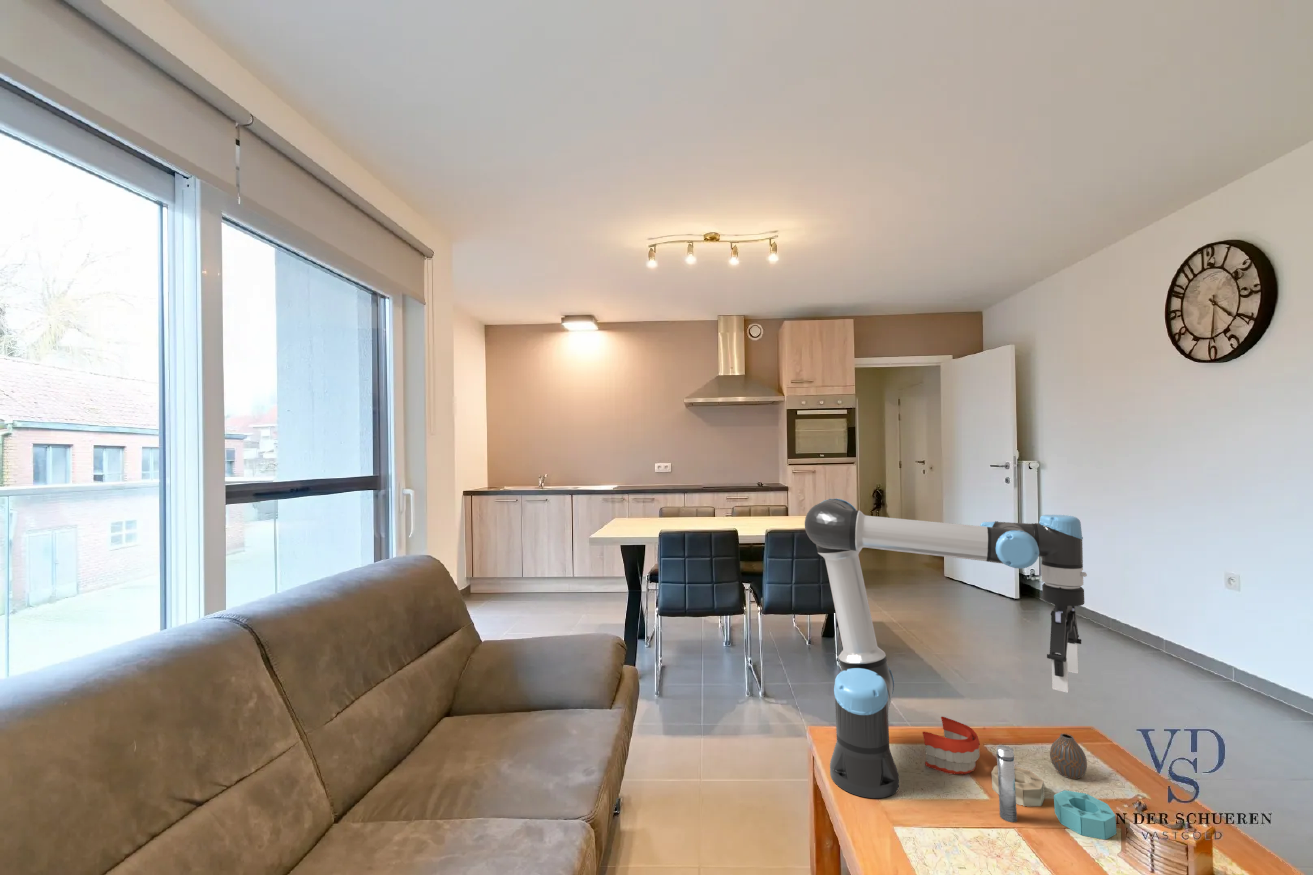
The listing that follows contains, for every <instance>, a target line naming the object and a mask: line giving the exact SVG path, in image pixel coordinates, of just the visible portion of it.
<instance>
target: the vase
mask: <svg viewBox="0 0 1313 875" xmlns="http://www.w3.org/2000/svg"><path fill="white" fill-rule="evenodd" d="M1049 756H1050V757H1049V758H1050V761H1051V763H1052V766H1053V767H1054V769H1055V771H1057V772H1058V773H1059V774H1060V775H1062V776H1063V777H1065V778H1069V779H1074V780H1075V779H1076V780H1077V779H1080V778H1082V777H1083V776H1084V775H1085V774H1086V772H1087V769H1088V761H1087V760H1088V759H1087V756H1086V754H1085V751H1084V750H1083V748H1082V747H1081V746H1080V745H1079V744H1078V742H1077V741H1076V740H1075V737H1074V735H1071V734H1070V733H1069V734H1068V733H1060V735H1059V737H1058V738H1057V739H1055V740H1054V742H1052V744H1051V746H1050V751H1049Z"/></svg>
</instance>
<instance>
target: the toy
mask: <svg viewBox="0 0 1313 875" xmlns="http://www.w3.org/2000/svg"><path fill="white" fill-rule="evenodd" d="M940 719H941V724H942V729H943V736H941V735H938V734H934V733H932V732H928V731H922V736H923V742H924V745H925V749H924V750H925V751H924V752H925V757H926V758H925V759H926V760H925V763H924V764H925V767H928V768H930V769H933V770H935V771H939V772H942V773H945V774H949V775H967V774H970V773H971V772H973V771H975V769H977V768H976V767H977V763H976V762H977V760H978V759H979V758H980V745H981V744H980V740H979V737H978V734H977V733H976V732H975V731H974V729H973V728H972V727H971V726H968V725H967V724H964V723H961V722H959V721H957V720H954V719H952V718H948V717H947V716H946V717H945V716H941V717H940Z"/></svg>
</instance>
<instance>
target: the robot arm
mask: <svg viewBox="0 0 1313 875" xmlns="http://www.w3.org/2000/svg"><path fill="white" fill-rule="evenodd" d="M804 518H805V519H804V530H805V533H806V534H807V537H808V538H809V540H810V541H812V543H813V544H815V546H816V550H817V554H818V555H819V556H821V557H823V559H824V561H825V566H826V571H827V575H828V576H827V577H828V580H829V586H830V590H831V595H832V601H833V605H834V610H835V611H834V612H835V615H836V620H837V625H838V629H839V635H840V640H841V644H842V650H841V652H840V653H839V655H838V660H839V666H840V669H841V670H840V672H839V673H838V674H837V675H836V677H835V679H834V687H833V693H834V700H835V701H834V702H835V703H834V706H835V725H836V726H835V730H836V732H835V734H836V743H835V745H834V749H833V752H832V755H831V759H830V763H829V771H830V772H829V773H830V777H831V778H830V779H832V781H833V783H835V785H836V786H838V787H839V788H840V789H842V790H844V791H845V792H847V793H850V794H852V795H854V796H858V797H860V798H861V797H862V798H868V799H869V798H870V799H883V798H888V797H891V796H892V795H895V794H896V793H897V792H898V791H899V788H900V776H899V775H900V774H899V771H898V768H897V765H896V763H895V760H894V757H893V754H892V752H891V749H890V731H889V730H890V728H889V727H890V726H889V712H890V707H891V702H892V696H893V693H894V688H895V678H894V676H893V672H892V670H891V668H890V666H889V665H888V660H887V655H886V652H885V651H884V650H883V649H881V648H880V647H879V646H878V642H877V637H876V632H875V628H874V623H873V617H872V614H871V608H870V604H869V600H868V594H867V589H866V585H865V580H864V576H863V570H862V566H861V562H860V557H859V556H860V555H859V554H860V552H861V551H862V549H863V548H866V549H867V548H868V549H874V550H875V549H876V550H882V551H883V550H884V551H893V552H902V553H910V554H911V553H912V554H917V555H918V554H919V555H929V556H936V557H946V558H955V559H961V560H962V559H965V560H972V561H981V562H989V563H994V564H1003V565H1005V566H1008V567H1010V568H1014V569H1021V570H1022V569H1026V568H1029V567H1031V566H1033V565H1034V564H1035V563H1036V562H1037V561H1038V559H1039V557H1040V558H1041V563H1040V569H1041V570H1040V571H1041V581H1042V582H1043V584H1042V587H1041V588H1042V589H1041V591H1042V593H1041V594H1042V599H1043V601H1045V602H1046V603H1049V604H1053V605H1054V608H1053V609H1052V610H1051V613H1050V620H1051V621H1050V622H1051V623H1050V639H1049V640H1050V642H1049V653H1047V654H1046V658H1047V659H1048V660H1049V659H1050V660H1051V682H1052V683H1051V684H1052V686H1051V687H1052V690H1054V691H1055V690H1056V691H1057V692H1058V691H1059V692H1063V693H1067V694H1068V693H1069V690H1070V689H1069V673H1073V674H1077V675H1079V651H1078V650H1079V649H1078V648H1079V647H1078V645H1082V639H1081V638H1079V637H1080V635H1079V631H1078V622H1077V612H1076V607H1081V606H1083V605H1084V604H1085V588H1083V587H1082V586H1083V585H1084V577H1085V578H1086V577H1088V574H1087V572H1086V571H1084V564H1083V562H1084V560H1083V559H1084V557H1083V540H1084V537H1083V534H1082V523H1081V521H1080V520H1081V519H1079V518H1078V517H1076V516H1073V515H1069V514H1067V515H1065V514H1043V515H1041V516H1040V517H1039V522H1036V523H1028V522H1027V523H1026V522H1025V523H1024V522H1023V523H1022V522H1005V521H996V520H995V521H983V522H981V523H980V525H970V524H961V523H950V522H939V521H929V520H928V521H927V520H917V519H906V518H897V517H896V518H895V517H886V516H876V515H875V516H874V515H873V516H871V515H867V514H864V513H863V512H862V510H857V509H856V508H855V507H854V506H853V504H852V503H850V502H849V501H847V500H845V499H840V498H828V499H825V500H823V501H821V502H819V503H817V504H815V505H814V506H812V507H811V508H810V509H809V510H808V512H807V513H806V515H805V517H804Z"/></svg>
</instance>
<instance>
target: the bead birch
mask: <svg viewBox="0 0 1313 875" xmlns="http://www.w3.org/2000/svg"><path fill="white" fill-rule="evenodd" d="M1014 769H1015V789H1016V805H1019V806H1021V805H1023V806H1022V807H1025V806H1027V807H1041V806H1043V803H1044V800H1045V784H1044V780H1043V779H1042V778H1041V777H1040V776H1038V775H1037V774H1036V773H1034V771H1031V770H1028V769H1026V768H1023V767H1019V766H1016V765H1014ZM991 787H992V791H994V792H995V793H996V794H997V795H998V796H999V787H998V767H997V765H994V766H993V769H992V770H991Z"/></svg>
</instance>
